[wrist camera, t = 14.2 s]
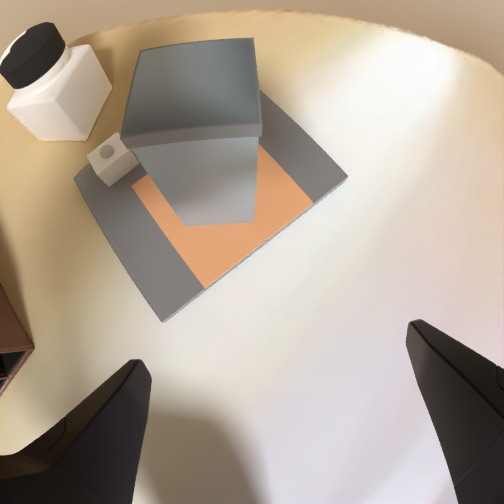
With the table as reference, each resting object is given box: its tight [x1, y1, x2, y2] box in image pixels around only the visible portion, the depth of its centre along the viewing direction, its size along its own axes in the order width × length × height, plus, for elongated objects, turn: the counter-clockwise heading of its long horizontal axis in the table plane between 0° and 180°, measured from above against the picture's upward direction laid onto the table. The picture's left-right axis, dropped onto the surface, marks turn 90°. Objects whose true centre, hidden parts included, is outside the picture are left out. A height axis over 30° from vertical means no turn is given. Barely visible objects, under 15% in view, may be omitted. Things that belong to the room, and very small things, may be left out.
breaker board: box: [74, 90, 348, 322], centre depth 22 cm, size 18×15×4 cm
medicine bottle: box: [0, 22, 112, 141], centre depth 20 cm, size 7×7×12 cm
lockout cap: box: [120, 38, 262, 226], centre depth 16 cm, size 5×5×12 cm
